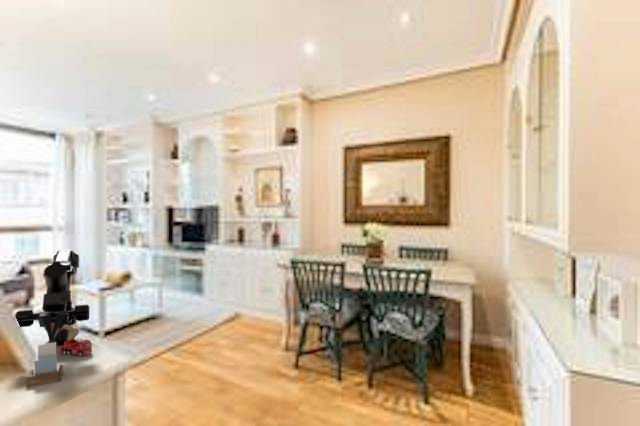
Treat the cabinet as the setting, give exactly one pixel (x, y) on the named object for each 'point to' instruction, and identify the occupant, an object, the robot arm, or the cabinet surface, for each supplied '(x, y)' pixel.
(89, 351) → the toy fire truck
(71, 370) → the cabinet surface
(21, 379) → the cabinet surface
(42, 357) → the block on wooden base
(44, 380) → the dock
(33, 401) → the cabinet surface
